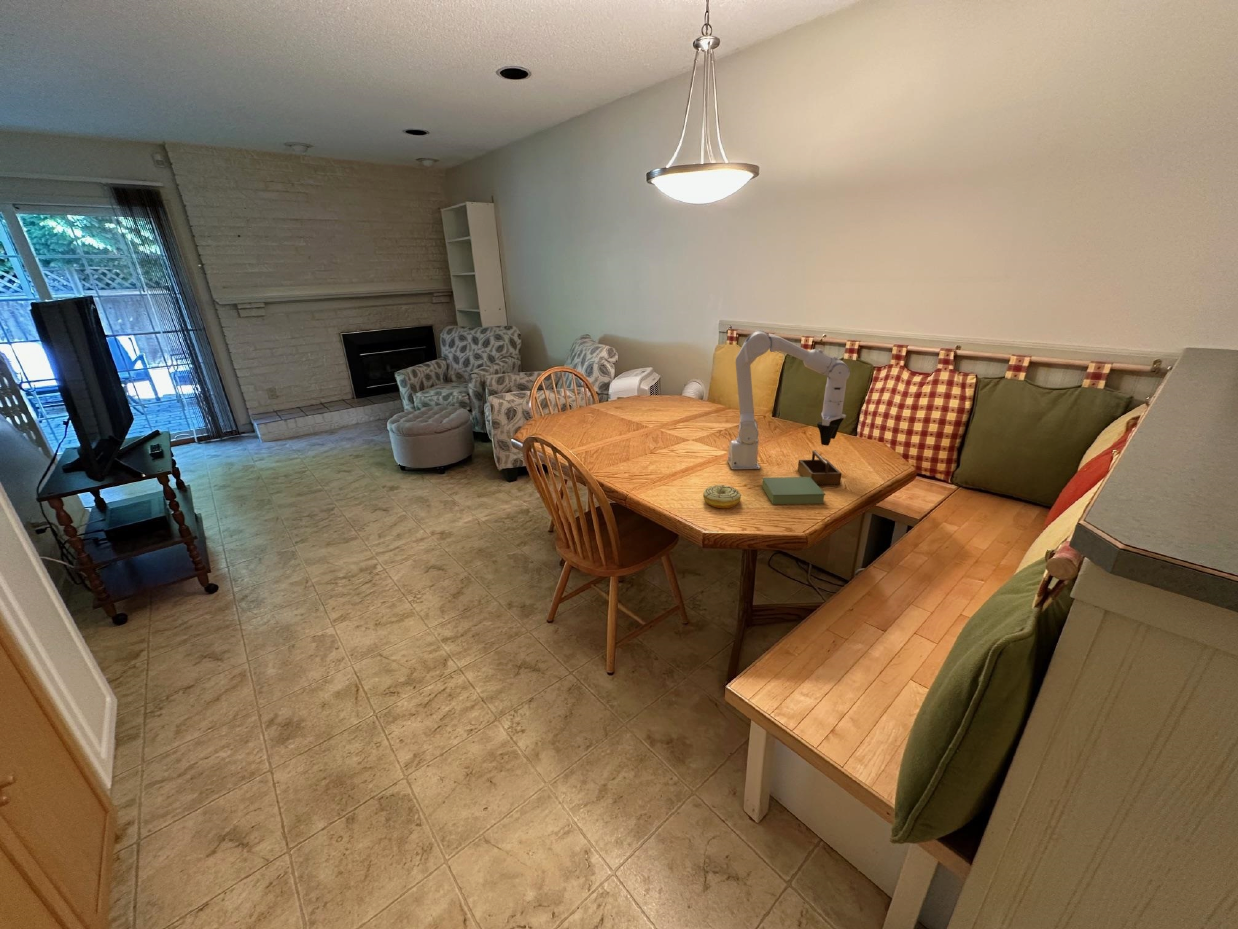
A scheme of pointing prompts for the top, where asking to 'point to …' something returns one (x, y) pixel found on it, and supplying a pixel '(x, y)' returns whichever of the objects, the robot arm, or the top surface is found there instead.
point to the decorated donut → (721, 496)
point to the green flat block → (792, 490)
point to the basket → (819, 470)
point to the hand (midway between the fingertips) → (828, 441)
